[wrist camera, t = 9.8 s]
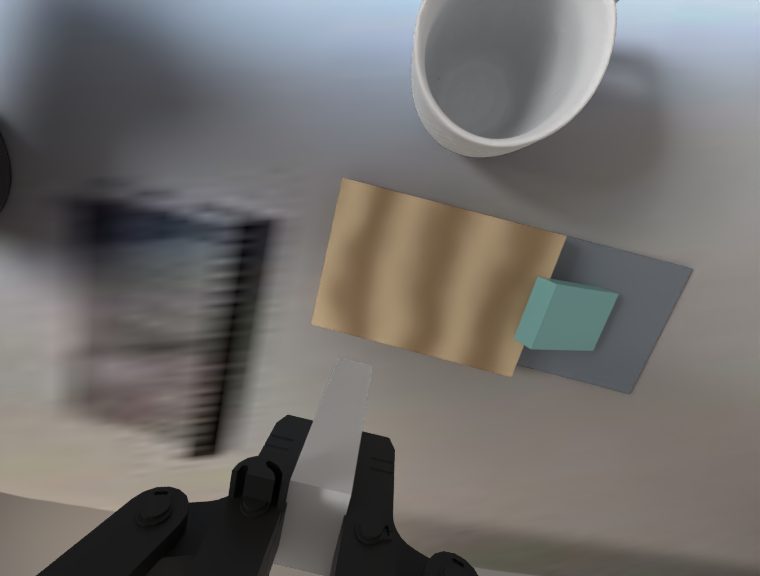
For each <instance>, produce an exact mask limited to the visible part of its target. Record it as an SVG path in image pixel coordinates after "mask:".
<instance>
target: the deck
mask: <svg viewBox="0 0 760 576" xmlns="http://www.w3.org/2000/svg"><path fill="white" fill-rule="evenodd" d="M566 237H567V236H565V235H561V234H557V233H553V232H549V231H546V230H542V229H538V228H534V227H530V226H526V225H523V224H519V223H515V222H511V221H507V220H503V219H500V218H496V217H492V216H488V215H484V214H480V213H477V212H473V211H469V210H465V209H461V208H457V207H454V206H450V205H446V204H442V203H438V202H434V201H431V200H427V199H423V198H419V197H415V196H411V195H408V194H404V193H400V192H396V191H392V190H388V189H385V188H381V187H377V186H373V185H369V184H365V183H362V182H358V181H354V180H350V179H346V178H342V181H341V186H340V190H339V195H338V200H337V205H336V209H335V214H334V219H333V223H332V228H331V233H330V238H329V242H328V247H327V252H326V256H325V261H324V266H323V271H322V275H321V280H320V285H319V289H318V294H317V299H316V304H315V308H314V313H313V318H312V322H311V324H312V325H315V326H319V327H323V328H327V329H331V330H334V331H338V332H342V333H346V334H349V335H353V336H357V337H361V338H365V339H368V340H372V341H376V342H380V343H384V344H387V345H391V346H395V347H399V348H403V349H406V350H410V351H414V352H418V353H421V354H425V355H429V356H433V357H437V358H440V359H444V360H448V361H452V362H456V363H459V364H463V365H467V366H471V367H475V368H478V369H482V370H486V371H490V372H493V373H497V374H501V375H505V376H509V377H512V375H513V372H514V369H515V367H516V364H517V362H518V359H519V357H520V354H521V352H522V349H523V347H524V345H523V344H522V343H520V342H519V341H517V340H515V339H514V337H515V334H516V332H517V329H518V327H519V324H520V321H521V319H522V316H523V314H524V311H525V308H526V306H527V303H528V300H529V298H530V295H531V293H532V290H533V287H534V285H535V282H536V280H537V277H543V278H549V279H550V278H551V275H552V273H553V270H554V268H555V265H556V263H557V260H558V257H559V255H560V252H561V250H562V247H563V245H564V242H565V240H566Z"/></svg>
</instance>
